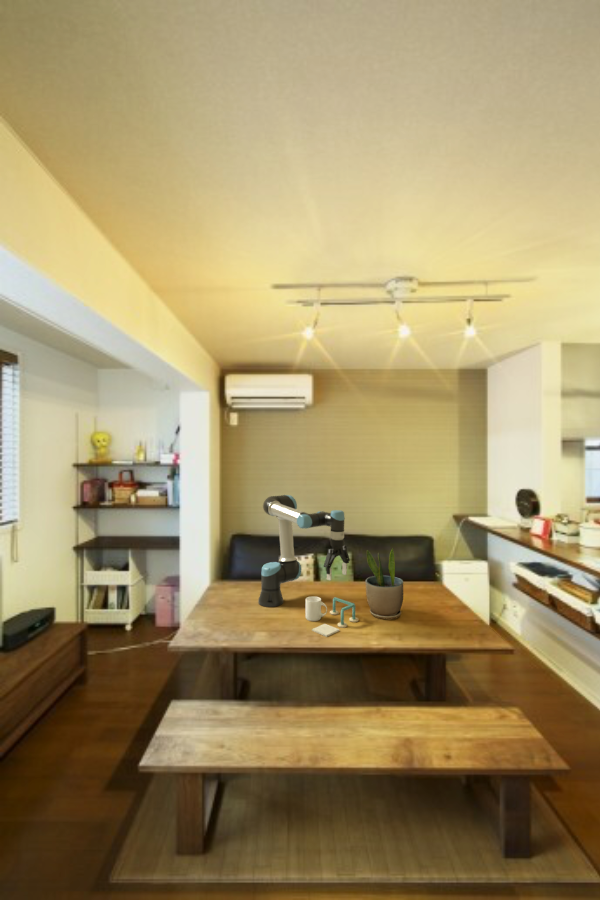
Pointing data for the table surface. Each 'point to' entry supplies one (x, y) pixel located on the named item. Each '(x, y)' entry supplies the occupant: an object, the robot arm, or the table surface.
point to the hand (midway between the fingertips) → (336, 577)
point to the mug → (314, 608)
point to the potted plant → (384, 590)
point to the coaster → (325, 630)
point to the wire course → (334, 612)
